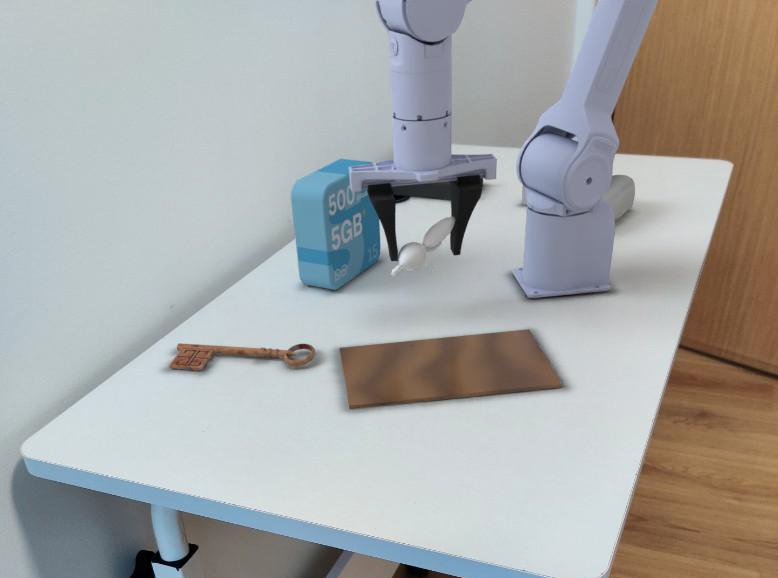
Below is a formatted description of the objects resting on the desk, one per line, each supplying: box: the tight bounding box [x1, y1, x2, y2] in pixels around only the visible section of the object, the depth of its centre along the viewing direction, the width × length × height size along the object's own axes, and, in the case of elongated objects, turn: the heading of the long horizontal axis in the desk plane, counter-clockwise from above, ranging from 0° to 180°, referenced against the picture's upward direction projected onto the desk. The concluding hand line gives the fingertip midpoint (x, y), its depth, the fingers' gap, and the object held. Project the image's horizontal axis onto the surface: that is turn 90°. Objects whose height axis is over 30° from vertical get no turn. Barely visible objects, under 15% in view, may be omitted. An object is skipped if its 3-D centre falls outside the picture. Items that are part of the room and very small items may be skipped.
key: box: [168, 342, 316, 371], centre depth 86 cm, size 6×1×15 cm
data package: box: [290, 158, 382, 291], centre depth 99 cm, size 12×4×12 cm, turn 150°
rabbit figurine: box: [390, 216, 456, 276], centre depth 88 cm, size 6×4×8 cm
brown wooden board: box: [338, 328, 563, 410], centre depth 82 cm, size 20×12×1 cm, turn 96°
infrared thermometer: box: [521, 174, 636, 221], centre depth 114 cm, size 5×12×15 cm
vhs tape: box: [392, 178, 484, 201], centre depth 126 cm, size 14×8×2 cm, turn 65°
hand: (424, 254), depth 88 cm, fingers closed on rabbit figurine, 6 cm apart
